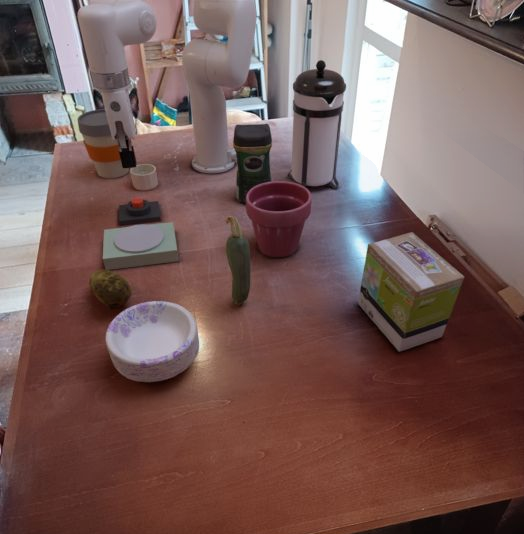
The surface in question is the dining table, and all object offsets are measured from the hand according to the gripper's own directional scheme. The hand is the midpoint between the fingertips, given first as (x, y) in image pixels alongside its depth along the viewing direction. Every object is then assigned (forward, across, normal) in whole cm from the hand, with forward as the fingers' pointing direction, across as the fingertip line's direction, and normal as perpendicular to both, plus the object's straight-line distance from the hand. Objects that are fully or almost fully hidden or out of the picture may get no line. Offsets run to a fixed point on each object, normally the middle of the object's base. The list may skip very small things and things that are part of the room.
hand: (129, 165), depth 111 cm
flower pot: (+13, -21, -31) cm, 40 cm away
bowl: (+13, +16, -2) cm, 21 cm away
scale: (+13, -16, 0) cm, 21 cm away
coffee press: (+13, +9, -47) cm, 50 cm away
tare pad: (+13, 0, 0) cm, 13 cm away
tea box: (+13, -51, -48) cm, 71 cm away
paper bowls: (+13, -52, -2) cm, 54 cm away
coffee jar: (+13, +3, -30) cm, 33 cm away
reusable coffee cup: (+13, +27, +7) cm, 31 cm away
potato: (+13, -33, +6) cm, 36 cm away
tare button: (+11, 0, 0) cm, 11 cm away
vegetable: (+13, -40, -19) cm, 46 cm away
